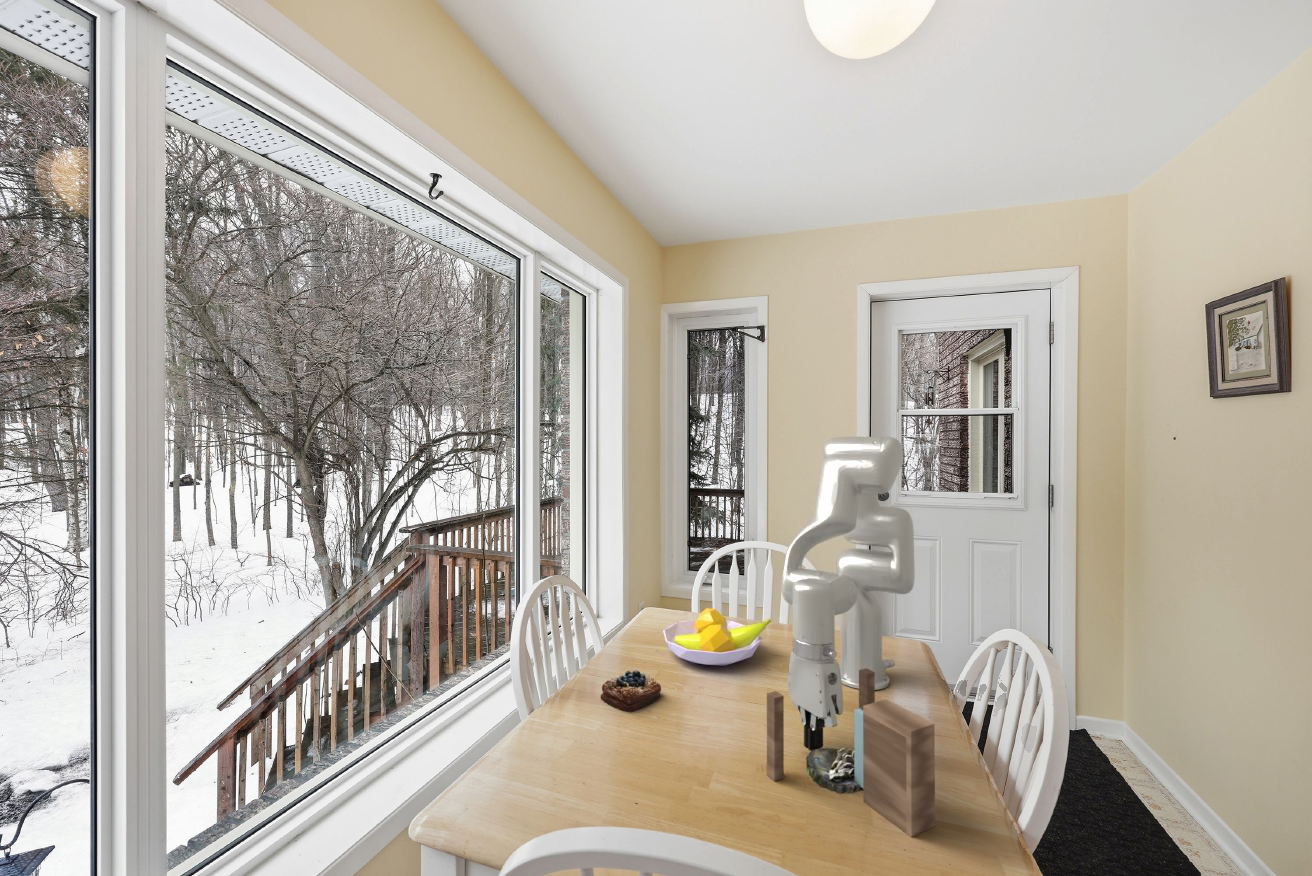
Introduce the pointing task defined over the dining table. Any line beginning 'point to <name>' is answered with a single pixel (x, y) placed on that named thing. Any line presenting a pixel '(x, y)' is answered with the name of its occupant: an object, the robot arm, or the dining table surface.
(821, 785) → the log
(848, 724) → the dining table surface
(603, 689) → the pastry
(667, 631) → the fruit bowl
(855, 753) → the door panel
